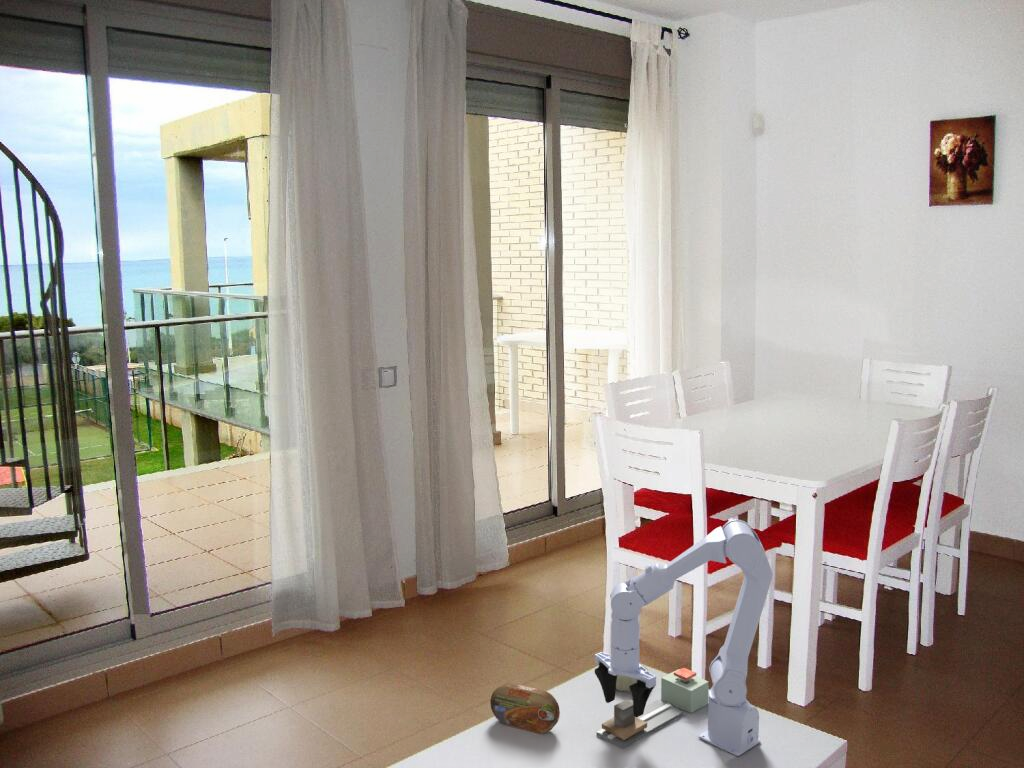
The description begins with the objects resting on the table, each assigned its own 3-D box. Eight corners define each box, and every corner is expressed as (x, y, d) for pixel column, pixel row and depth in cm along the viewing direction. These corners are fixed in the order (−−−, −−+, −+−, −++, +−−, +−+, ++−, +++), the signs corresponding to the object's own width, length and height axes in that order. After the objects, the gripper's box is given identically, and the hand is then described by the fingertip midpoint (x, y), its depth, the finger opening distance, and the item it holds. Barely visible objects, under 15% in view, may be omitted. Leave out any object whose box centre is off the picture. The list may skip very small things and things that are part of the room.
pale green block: (708, 703, 196) (708, 681, 195) (690, 713, 192) (691, 690, 191) (678, 690, 202) (678, 668, 201) (661, 699, 198) (661, 677, 197)
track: (683, 715, 191) (683, 710, 191) (622, 749, 178) (622, 743, 178) (657, 703, 196) (657, 698, 196) (596, 735, 184) (596, 729, 183)
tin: (489, 721, 190) (489, 683, 188) (497, 714, 193) (496, 677, 191) (555, 738, 183) (555, 699, 182) (561, 731, 186) (561, 692, 184)
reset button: (696, 682, 196) (696, 672, 196) (686, 687, 194) (686, 677, 193) (683, 676, 198) (683, 667, 198) (673, 682, 196) (673, 672, 196)
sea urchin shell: (598, 672, 207) (621, 645, 208) (621, 691, 209) (643, 664, 210) (615, 690, 198) (638, 662, 199) (638, 710, 201) (661, 682, 202)
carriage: (647, 727, 184) (647, 704, 183) (624, 740, 179) (624, 716, 179) (624, 716, 188) (624, 693, 188) (601, 728, 184) (601, 705, 183)
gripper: (584, 638, 184) (584, 701, 186) (639, 662, 173) (638, 729, 175) (608, 628, 188) (607, 690, 191) (663, 651, 178) (662, 716, 180)
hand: (624, 708), depth 183 cm, fingers open, 7 cm apart
